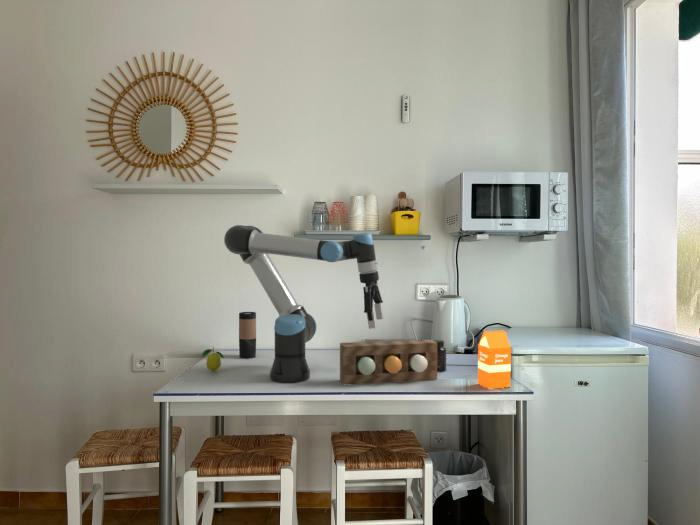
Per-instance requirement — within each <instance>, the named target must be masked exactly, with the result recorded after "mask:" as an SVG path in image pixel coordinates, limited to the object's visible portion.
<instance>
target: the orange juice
mask: <svg viewBox="0 0 700 525" xmlns="http://www.w3.org/2000/svg"><path fill="white" fill-rule="evenodd" d="M510 344H511V343H510V341H509V339H508V336H507V333H506V330H488V331H487V330H486V331H483V333H482V335H481V338H480V340H479V342H478V344H477V346H478V348H477V385H479V384H480V385H479V386H481V385H482V386H481V387H483V386H484V387H483V388H485V387H487V388H489V389H490V388H502V389H505V388H504V387H510V388H511V370H512V369H511V368H512V365H511V364H512V363H511V362H512V361H511V359H512V357H511V356H512V355H511V354H512V347H511V345H510ZM487 388H486V389H487ZM489 389H488V390H489ZM490 390H491V389H490Z"/></svg>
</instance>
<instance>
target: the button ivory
mask: <svg viewBox="0 0 700 525" xmlns="http://www.w3.org/2000/svg"><path fill="white" fill-rule="evenodd" d="M427 365H428V362H427V360H426V358H425V357H423V356H421V355H419V354H416V355H413V356H412V357H411V359H410V367H411V368H412V369H413V370H415V371H416V372H423V371H424V370H425V369H426V368H427Z"/></svg>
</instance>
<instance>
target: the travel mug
mask: <svg viewBox="0 0 700 525" xmlns="http://www.w3.org/2000/svg"><path fill="white" fill-rule="evenodd" d="M238 343H239V344H238V346H239V347H238V348H239V349H238V350H239V358H240V359H246V360H247V359H254V358H256V357H257V356H256V355H257V312H256V311H241V312H239V313H238Z"/></svg>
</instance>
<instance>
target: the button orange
mask: <svg viewBox="0 0 700 525" xmlns="http://www.w3.org/2000/svg"><path fill="white" fill-rule="evenodd" d="M384 367H385V369H386V370H387V371H388V372H390V373H392V374H395V373H397V372H399V371H400V369H401V367H402V363H401V361H400V359H398V358H397V357H396V356H392V355H391V356H388V357H387V358H386V359H385V360H384Z"/></svg>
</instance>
